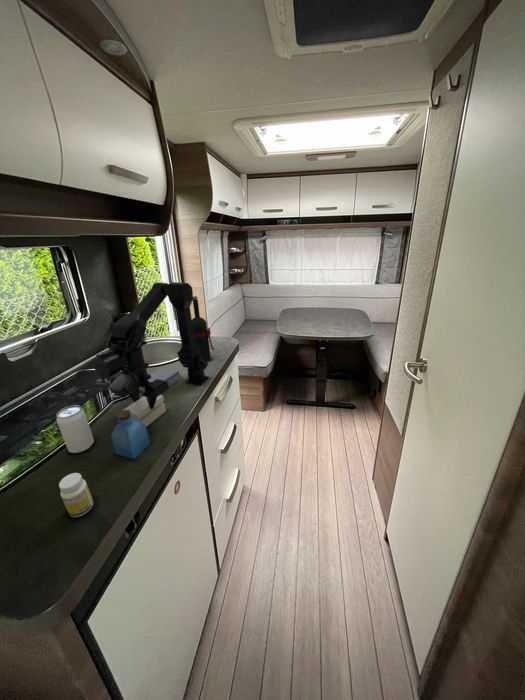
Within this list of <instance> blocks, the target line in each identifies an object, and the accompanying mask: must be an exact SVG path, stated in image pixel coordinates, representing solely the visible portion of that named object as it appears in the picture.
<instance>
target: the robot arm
mask: <svg viewBox="0 0 525 700" xmlns="http://www.w3.org/2000/svg"><path fill="white" fill-rule="evenodd" d="M193 296H194V290H193V287H192V285H191V284H189V282H177V281H173V282H170V283H167V282H154V283H152V286H151V288H150V290H149V291H148V292H147V293H146V294H145V296H144V297H143V298H142V299H141V300H140V302H139V303H138V304H137V305H136V307H135V308H134V309H133V310H132V311H131V312H130V313H129V314H126V315H124V316H122V317H121V318H120V319H118V320H117V321H116V322H114V324H113V325H112V326H111V329H110V330H111V333H110V336H109V339H108V342H107V345H106V349H107V350H105V351H101V352H98V353H96V354H95V357H96V359H94V364H93V368H94V370H95V373H97V374H98V376H99V377H100V378H102V379H108V378H111V379H110V381H109V382H110V385H109V386H108V389H109V390H110V391H111V392H112V394H113V395H114V396H115V397H120V398H126V397H128V396H129V398H130V399H131V401H132V402H133V403H134V402H136V401H137V400H139V399H140V398H141V397H143V396H144V397H146V399H147V402H148V405H149V407H150V409H153V408H154V405H155V402H156V399H157V397H158V396H159V395H162V394H164V393H165V392H166V391H168V390H169V389H170V386H169V385H168V382H166V381H163V380H159V379H156V380H155V381H153V382H149V381H148V380H149V379H150V378H151V374H148V370H147V368H148V367H149V366H150V365H149V364H150V363H148V362H146V361H145V356H144V351H143V347H144V346H146V345H147V344H148V341H145V340H143V339H142V338H143V336H144V335H145V332H146V330H147V323H148V322H149V320H150V319H151V317H153V315H154V313H155V312H156V311H157V309H159V307H160V306H161V304H162V303H163V302H164V301H165V299H166V298H168V301H169V302H170V304H171V305H172V307H173V308H174V309H175V314H176V320H177V326H178V331H179V337H180V343H181V347H180V348H179V350H177V357H178V362H179V363H180V364H181V365H182V367H183V368H186V369H187V378H188V379H187V380H186V383H187V384H192V385H197V386H201V385H202V384H203V383H204V382H205V381H207V380H208V379H209V376H207V375H206V374H205V370H207V367H208V365H209V361H207V360H206V359H204V358H203V357H202V354H201V350H200V349H199V348H198V346H197V345H196V344H195V338H194V332H193V325H192V319H193V318H192V313H191V305H192V304H193ZM120 342H122V343H120ZM139 387H140V388H141V387H144V388H145V390H144V391H145V392H143V394H141V397H140V391H139Z"/></svg>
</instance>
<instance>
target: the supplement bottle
mask: <svg viewBox="0 0 525 700" xmlns="http://www.w3.org/2000/svg"><path fill="white" fill-rule="evenodd" d="M58 487H59V490H60V497H61V499H62V501H63V504H64V506H65V508H66V511H67V512H68V515H69V516H70V517H73V518H79V517H82V516H84V515H85V514H87V513H88V512H90V510H91V509H92V508H93V506H94V498H93V496H92V493H91V491H90V488H89V485H88V483H87V481H86V480H85V479H83V477H82V475H81V473H79V472H73V473H69V474H67V475H66V476H64V477H63V478H61V480H60V481H59V483H58Z"/></svg>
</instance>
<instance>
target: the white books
mask: <svg viewBox="0 0 525 700" xmlns="http://www.w3.org/2000/svg"><path fill="white" fill-rule="evenodd" d="M166 412H167V408H166V404H165V403H164V402H162V403H161V404H159V405H158V406H157V407H155V408H154V409H153V410H151V411H150V412H149V413H147V414H146V415H145V416H143V417H142V418H140V419H139V420H138V421H139V422H141V423H142V424H144V425H145V426H146V428H147V427H149V425H151V424H152V423H154V422H155V420H157V419H158V418H159V417H161V416H162V415H163V414H165V413H166ZM133 420H137V419H134V418H133Z"/></svg>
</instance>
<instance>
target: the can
mask: <svg viewBox="0 0 525 700" xmlns="http://www.w3.org/2000/svg"><path fill="white" fill-rule="evenodd" d="M56 424H57V426H58V429H59V431H60V434H61V436H62V439H63V441H64V445H65V446H66V449H67V451H68V452H69V453H72V454H79V453H82V452H86V451H87V450H88V449H90V448H91V447H92V445H93V444H94V442H95V439H94V436H93V432H92V430H91V427H90V424H89V421H88V418H87V415H86V412H85V410H84V409H83V408H82V407H81V405H78V404H74V405H69V406H68V405H67V406H65V407H63V408H61V409H60V410H59V411H57V413H56Z"/></svg>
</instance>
